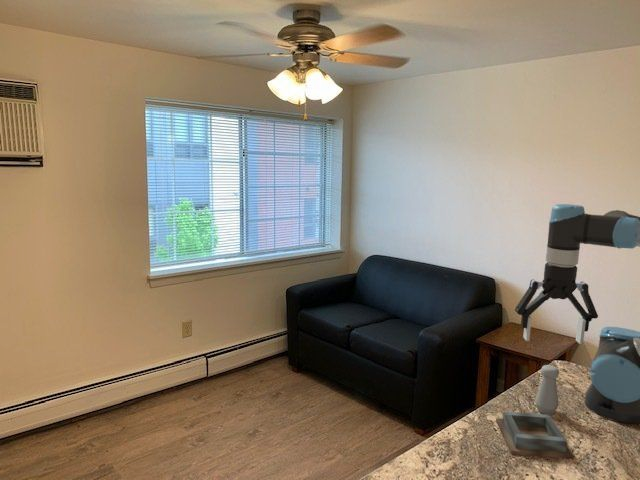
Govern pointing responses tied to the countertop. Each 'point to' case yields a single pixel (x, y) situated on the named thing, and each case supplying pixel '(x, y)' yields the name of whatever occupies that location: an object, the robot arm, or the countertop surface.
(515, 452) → the collar socket
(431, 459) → the countertop surface
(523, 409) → the countertop surface
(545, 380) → the salt shaker
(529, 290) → the robot arm
